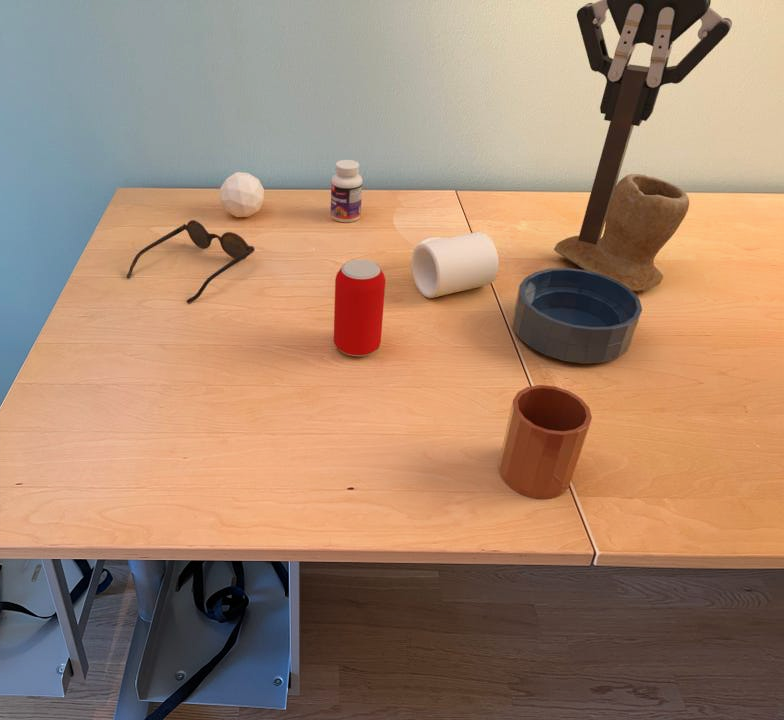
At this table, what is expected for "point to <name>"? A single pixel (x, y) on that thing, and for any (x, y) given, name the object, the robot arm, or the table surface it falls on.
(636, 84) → the stick
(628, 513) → the table surface
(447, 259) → the mug
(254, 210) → the geometric ball
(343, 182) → the pill bottle
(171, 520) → the table surface
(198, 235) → the eyeglasses
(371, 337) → the beverage can
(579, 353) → the bowl
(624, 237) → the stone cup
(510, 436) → the holder
